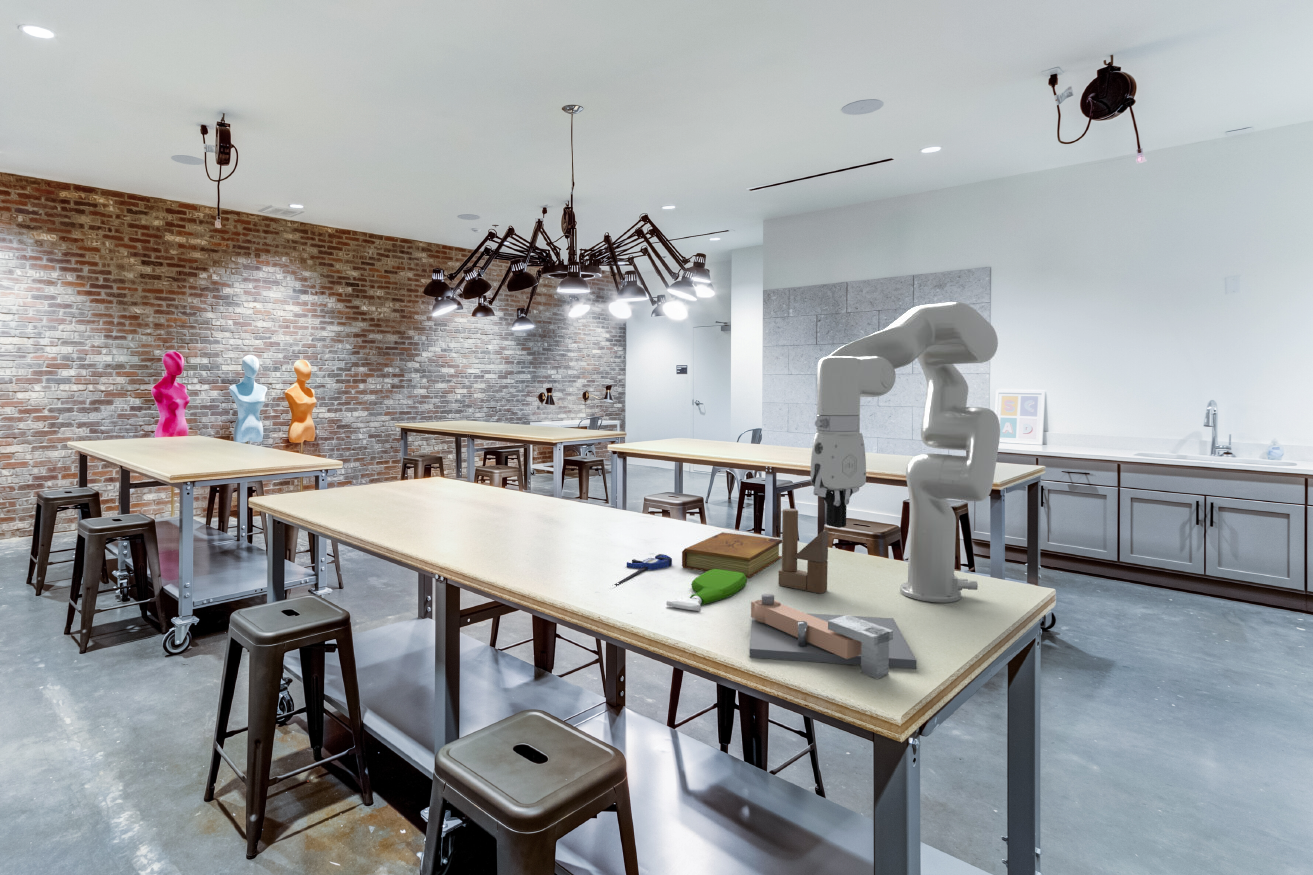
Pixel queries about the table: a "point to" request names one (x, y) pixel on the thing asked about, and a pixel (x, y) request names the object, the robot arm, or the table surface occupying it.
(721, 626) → the table surface
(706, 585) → the spray bottle
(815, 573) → the wooden block
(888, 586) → the table surface
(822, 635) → the link
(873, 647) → the keeper
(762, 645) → the base board
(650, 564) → the bar clamp
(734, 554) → the diary
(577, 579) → the table surface
